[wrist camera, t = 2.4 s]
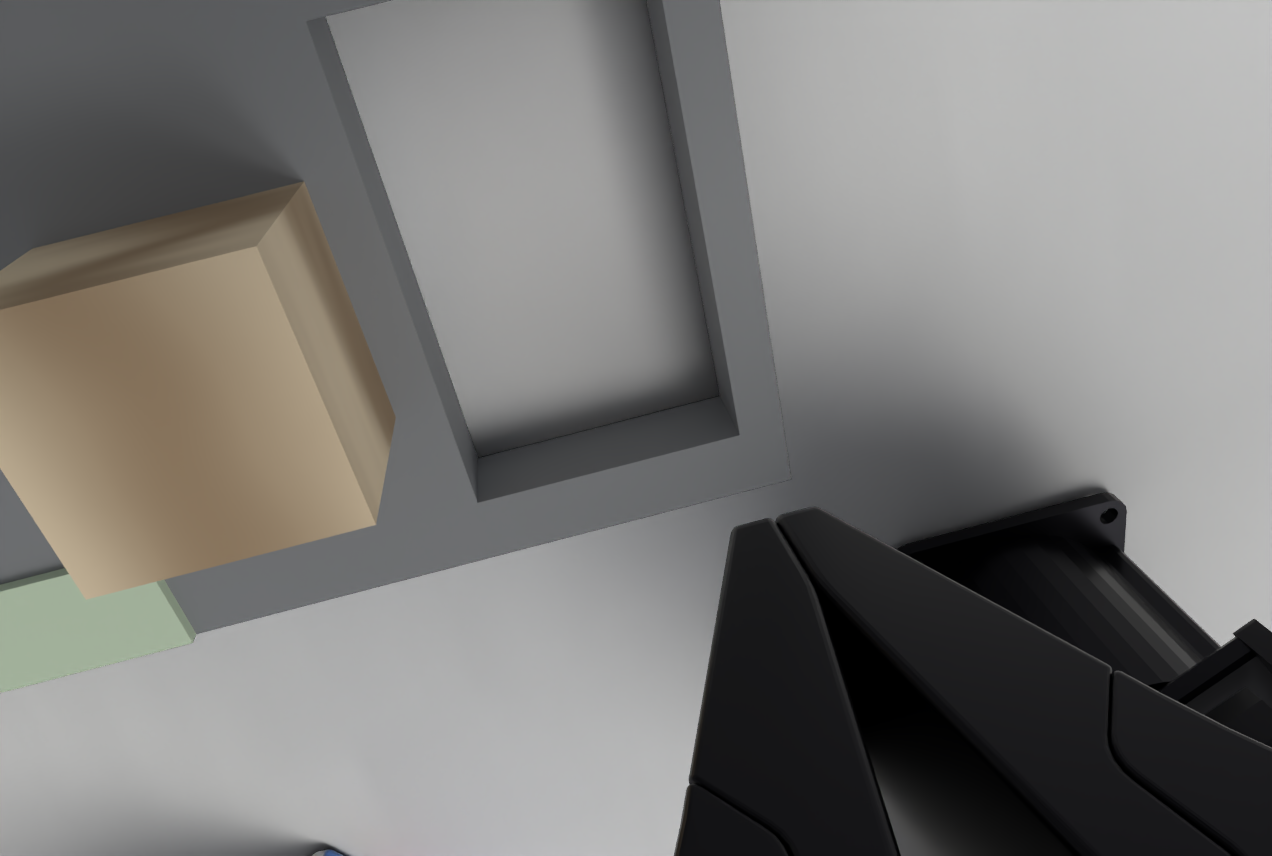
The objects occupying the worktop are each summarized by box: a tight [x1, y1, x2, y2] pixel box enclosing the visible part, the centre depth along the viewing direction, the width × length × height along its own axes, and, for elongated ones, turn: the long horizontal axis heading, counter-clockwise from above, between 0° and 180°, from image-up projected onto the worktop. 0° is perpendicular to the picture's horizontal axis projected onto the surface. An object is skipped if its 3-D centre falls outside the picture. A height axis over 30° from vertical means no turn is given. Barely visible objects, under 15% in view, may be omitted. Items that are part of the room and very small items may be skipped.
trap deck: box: [0, 0, 791, 693], centre depth 19 cm, size 28×13×2 cm, turn 102°
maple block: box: [0, 181, 396, 600], centre depth 16 cm, size 5×5×4 cm
